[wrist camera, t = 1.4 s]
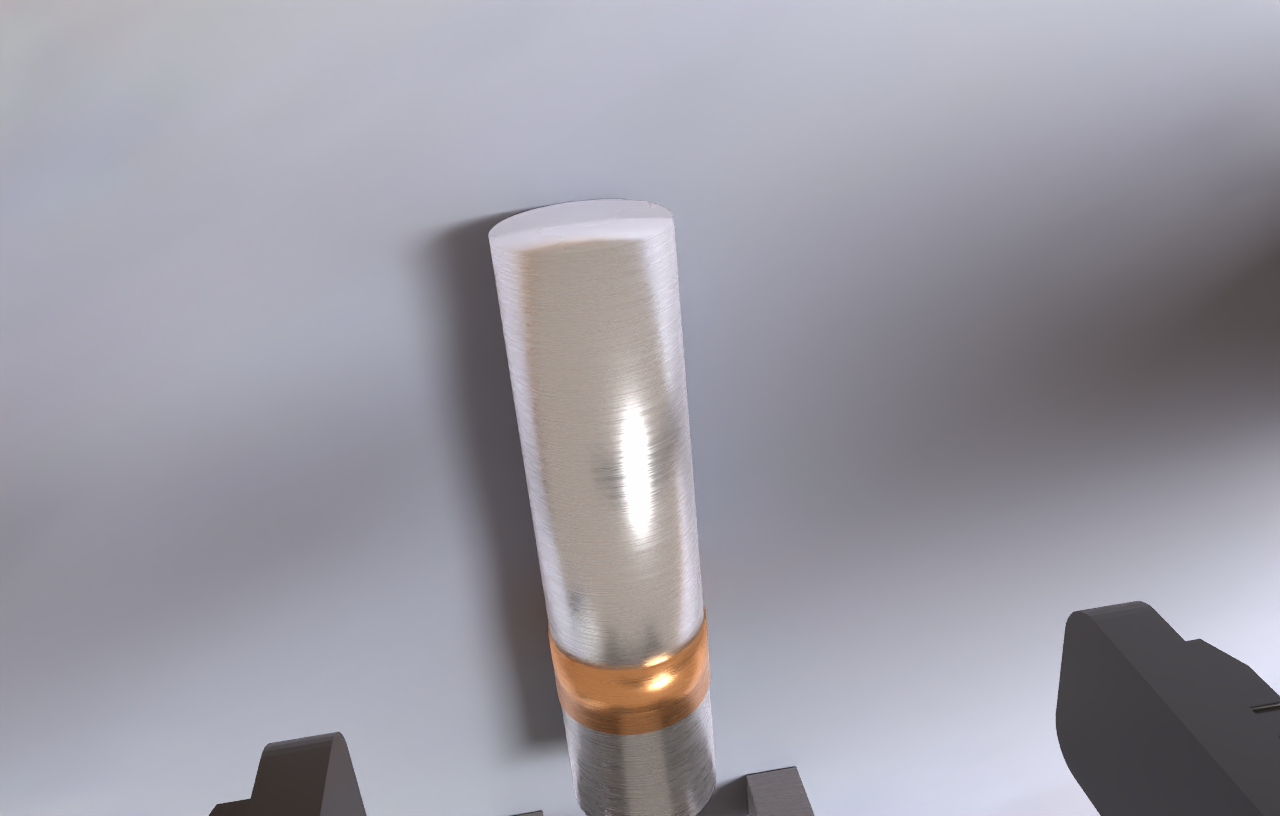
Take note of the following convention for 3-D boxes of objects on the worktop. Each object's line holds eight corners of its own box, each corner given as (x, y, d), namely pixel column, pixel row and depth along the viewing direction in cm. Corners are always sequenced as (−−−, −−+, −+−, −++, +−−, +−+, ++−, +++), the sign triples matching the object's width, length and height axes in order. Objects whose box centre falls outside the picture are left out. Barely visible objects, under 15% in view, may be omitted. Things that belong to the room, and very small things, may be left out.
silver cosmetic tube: (488, 210, 25) (483, 263, 21) (663, 190, 25) (688, 240, 21) (569, 736, 31) (576, 846, 28) (705, 717, 32) (729, 823, 28)
